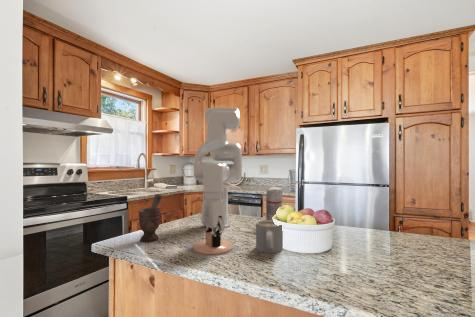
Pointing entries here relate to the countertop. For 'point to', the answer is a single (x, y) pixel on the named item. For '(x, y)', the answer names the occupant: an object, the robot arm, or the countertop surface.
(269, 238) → the coffee mug
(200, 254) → the mat
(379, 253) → the countertop surface
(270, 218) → the spray can
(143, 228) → the mortar and pestle
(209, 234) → the lid
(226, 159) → the robot arm
